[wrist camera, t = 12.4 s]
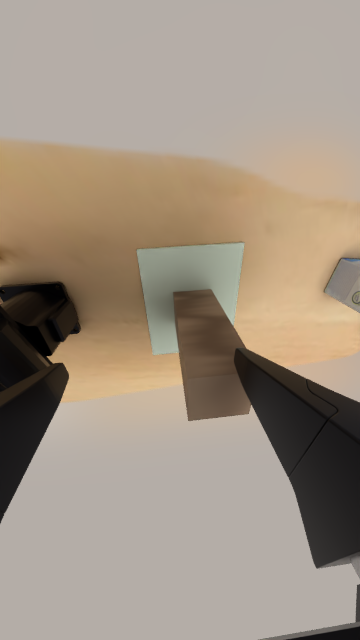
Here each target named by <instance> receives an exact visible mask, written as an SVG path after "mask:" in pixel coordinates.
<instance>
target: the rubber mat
mask: <svg viewBox="0 0 360 640" xmlns="http://www.w3.org/2000/svg"><path fill="white" fill-rule="evenodd" d="M243 251H244V242H234V243H219V244H204V245H188V246H173V247H157V248H142V249H137V257H138V263H139V269H140V276H141V282H142V288H143V295H144V301H145V307H146V314H147V320H148V326H149V332H150V339H151V345H152V351H153V355H158V354H169V353H179V349H178V342H177V335H176V327H175V315H174V299H173V292H180V291H193V290H206V289H211V290H212V291H213V293H214V295H215V296H216V298H217V300H218V301H219V303H220V305H221V307H222V308H223V310H224V312H225V313H226V315H227V317H228V318H229V320H230V322H231V323H232V325H233V327H234V319H235V312H236V304H237V296H238V289H239V281H240V274H241V266H242V258H243Z"/></svg>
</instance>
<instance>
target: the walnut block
mask: <svg viewBox="0 0 360 640" xmlns="http://www.w3.org/2000/svg"><path fill="white" fill-rule="evenodd" d="M173 299H174V315H175V327H176V335H177V342H178V349H179V357H180V364H181V371H182V379H183V386H184V393H185V401H186V407H187V415H188V421H193V420H200V419H209V418H218V417H226V416H235V415H244V414H249V411H250V407H251V403H250V401H249V399H248V397H247V395H246V393H245V391H244V389H243V386H242V384H241V381H240V378H239V376H238V373H237V370H236V367H235V364H234V355H235V349H236V348H240V347H244V348H246V347H245V345H244V344H243V342H242V340H241V339H240V337H239V335H238V333H237V332H236V330H235V328H234V327H233V325H232V323H231V322H230V320H229V318H228V317H227V315H226V313H225V312H224V310H223V308H222V307H221V305H220V303H219V301H218V300H217V298H216V296H215V295H214V293H213V291H212V290H211V289H206V290H193V291H180V292H173Z"/></svg>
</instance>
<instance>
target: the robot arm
mask: <svg viewBox="0 0 360 640" xmlns="http://www.w3.org/2000/svg"><path fill="white" fill-rule="evenodd" d="M57 286H59V287H60V288H57ZM3 290H4V291H5V292H4V291H3ZM0 297H1V299H2V300H3V302H4V303H2V304H1V305H0V523H1V520H2V518H3V516H4V513H5V512H6V510H7V508H8V506H9V504H10V502H11V500H12V498H13V496H14V494H15V492H16V490H17V488H18V486H19V484H20V482H21V480H22V478H23V476H24V474H25V472H26V470H27V468H28V466H29V464H30V462H31V460H32V458H33V456H34V454H35V452H36V450H37V448H38V446H39V444H40V442H41V440H42V438H43V436H44V434H45V432H46V430H47V428H48V426H49V424H50V422H51V420H52V418H53V416H54V413H55V412H56V410H57V408H58V406H59V403H60V401H61V398H62V396H63V393H64V390H65V388H66V385H67V382H68V379H69V374H68V371H67V370H66V368H65V366H64V364H63V363H54V364H53V363H52V362H51V361H50V360H49V359H48V358H47V357H46V356H51V355H52V354H53V353H54V351H55V350H56V348H57V347H58V345H59V344H60V342H64V341H65V339H66V338H67V336H68V335H69V334H77V333H79V332H80V330H81V328H80V325H79V323H78V317H77V314H76V312H75V309H74V306H73V304H72V301H70V300H69V297H68V295H67V292H66V290H65V287H64V285H63V284H62V283H60V282H48V283H35V284H21V285H7V286H1V287H0ZM75 329H77V330H75ZM234 364H235V367H236V370H237V373H238V376H239V378H240V381H241V384H242V386H243V389H244V391H245V393H246V395H247V397H248V399H249V401H250V403H251V405H252V406H253V408H254V410H255V412H256V414H257V416H258V418H259V420H260V422H261V424H262V426H263V428H264V430H265V432H266V434H267V436H268V438H269V440H270V442H271V444H272V446H273V448H274V450H275V452H276V454H277V456H278V458H279V460H280V462H281V464H282V466H283V468H284V470H285V472H286V474H287V476H288V477H289V480H290V482H291V484H292V487H293V489H294V492H295V495H296V498H297V502H298V506H299V509H300V513H301V517H302V521H303V524H304V528H305V532H306V535H307V539H308V542H309V546H310V550H311V554H312V558H313V561H314V564H315V566H316V568H323V567H331V566H337V565H343V564H349V563H352V565H353V567H354V569H355V571H356V573H357V575H358V576H359V578H360V402H357V401H355V400H353V399H350V398H348V397H345V396H343V395H341V394H339V393H336V392H334V391H332V390H330V389H327V388H325V387H323V386H321V385H319V384H317V383H315V382H313V381H311V380H309V379H306V378H304V377H302V376H300V375H298V374H296V373H294V372H292V371H290V370H288V369H286V368H284V367H282V366H280V365H278V364H276V363H274V362H272V361H270V360H268V359H266V358H264V357H262V356H260V355H258V354H256V353H254V352H252V351H250V350H248V349H246V348H244V347H240V348H236V349H235V355H234ZM260 640H360V584H359V585H357V600H356V623H350V624H345V625H339V626H333V627H328V628H322V629H316V630H311V631H305V632H300V633H294V634H288V635H282V636H277V637H271V638H266V639H260Z"/></svg>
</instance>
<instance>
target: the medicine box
mask: <svg viewBox="0 0 360 640" xmlns="http://www.w3.org/2000/svg"><path fill="white" fill-rule="evenodd" d="M324 292H325V293H326V294H328V295H329V296H331V297H333V298H334V299H336V300H338V301H340V302H341V303H343V304H345V305H347V306H348V307H350V308H352V309H354V310H356V311H357V312H359V313H360V259H348V258H343V259H341V260H340V261H339V263H338V265H337V267H336V269H335V271H334V273H333V275H332V277H331V279H330V281H329V283H328V284H327V287H326V289H325V291H324Z"/></svg>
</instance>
